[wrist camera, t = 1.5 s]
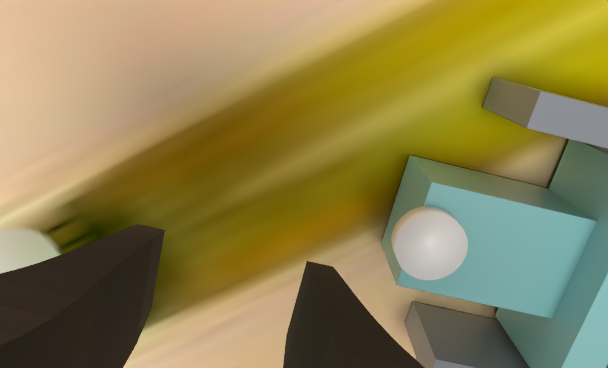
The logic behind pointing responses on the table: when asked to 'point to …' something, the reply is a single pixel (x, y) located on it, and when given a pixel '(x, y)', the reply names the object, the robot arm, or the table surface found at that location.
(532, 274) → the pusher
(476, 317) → the grey tray
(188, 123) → the table surface
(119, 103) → the table surface
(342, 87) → the table surface
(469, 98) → the table surface
